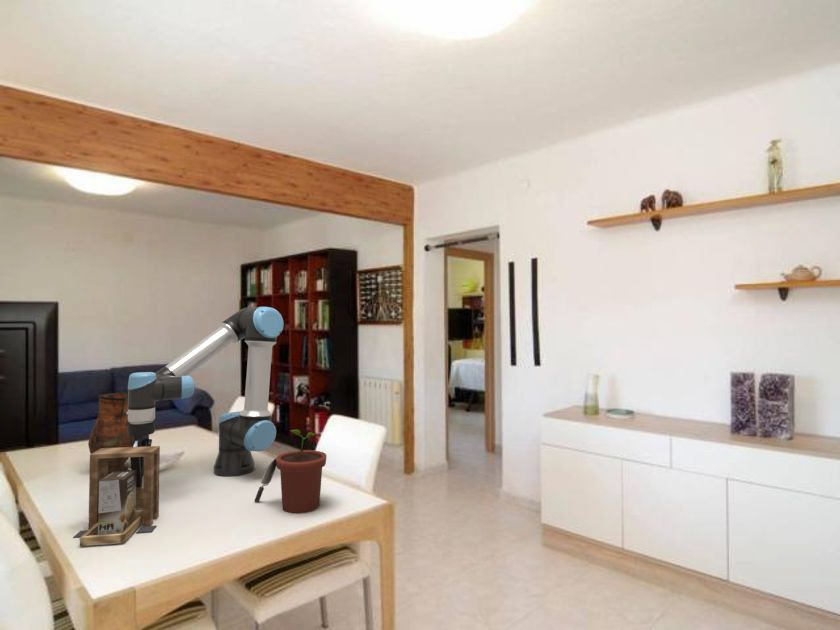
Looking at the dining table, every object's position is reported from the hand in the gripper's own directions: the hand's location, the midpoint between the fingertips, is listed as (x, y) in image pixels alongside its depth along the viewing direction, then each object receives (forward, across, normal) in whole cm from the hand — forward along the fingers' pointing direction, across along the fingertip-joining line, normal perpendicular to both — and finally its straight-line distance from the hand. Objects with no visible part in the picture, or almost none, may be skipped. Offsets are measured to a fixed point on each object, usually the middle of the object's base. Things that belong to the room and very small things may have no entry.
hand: (139, 496), depth 153 cm
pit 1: (+4, +18, -8) cm, 20 cm away
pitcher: (+4, -45, -26) cm, 52 cm away
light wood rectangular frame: (+3, +14, 0) cm, 14 cm away
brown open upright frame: (+4, +12, 0) cm, 13 cm away
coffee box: (+4, +19, +1) cm, 19 cm away
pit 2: (+4, +18, +8) cm, 20 cm away
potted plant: (+4, +5, +48) cm, 48 cm away
